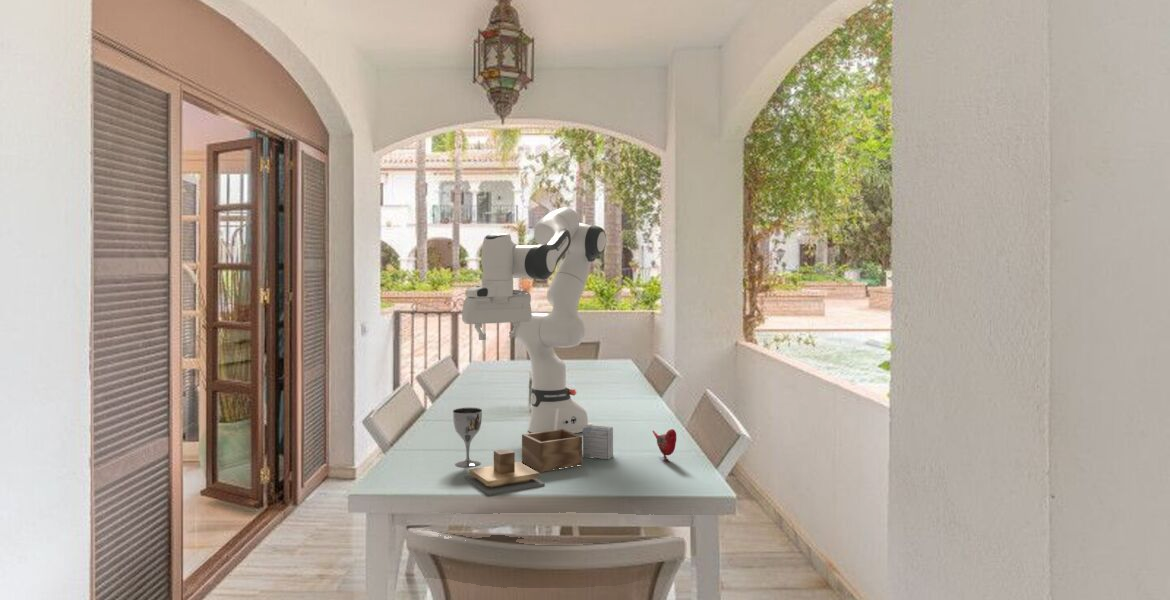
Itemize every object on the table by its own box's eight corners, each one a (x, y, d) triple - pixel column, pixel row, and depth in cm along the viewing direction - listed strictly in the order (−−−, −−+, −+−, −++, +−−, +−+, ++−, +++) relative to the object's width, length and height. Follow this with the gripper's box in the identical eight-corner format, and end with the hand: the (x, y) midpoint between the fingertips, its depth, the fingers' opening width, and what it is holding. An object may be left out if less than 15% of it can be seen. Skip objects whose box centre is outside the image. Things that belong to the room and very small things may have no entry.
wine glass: (469, 469, 194) (468, 414, 193) (447, 465, 198) (446, 411, 197) (488, 462, 201) (487, 409, 200) (466, 458, 205) (466, 406, 204)
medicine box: (613, 456, 208) (613, 426, 207) (608, 460, 204) (609, 430, 203) (587, 453, 210) (587, 424, 210) (582, 457, 206) (582, 428, 206)
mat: (517, 469, 194) (517, 467, 194) (544, 485, 180) (544, 483, 180) (464, 478, 186) (464, 475, 186) (488, 495, 173) (488, 493, 173)
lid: (519, 469, 192) (519, 443, 192) (539, 481, 182) (539, 453, 181) (469, 477, 185) (469, 449, 185) (487, 490, 175) (487, 461, 174)
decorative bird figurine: (670, 467, 196) (671, 431, 196) (647, 451, 213) (648, 417, 213) (680, 467, 197) (680, 430, 196) (657, 450, 214) (657, 417, 213)
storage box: (562, 456, 207) (562, 429, 207) (582, 465, 198) (582, 437, 197) (522, 462, 201) (522, 434, 200) (539, 472, 191) (539, 443, 191)
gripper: (525, 289, 212) (525, 336, 212) (459, 290, 201) (460, 339, 202) (535, 290, 206) (535, 338, 207) (468, 291, 196) (468, 341, 197)
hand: (497, 338), depth 204 cm, fingers open, 8 cm apart
